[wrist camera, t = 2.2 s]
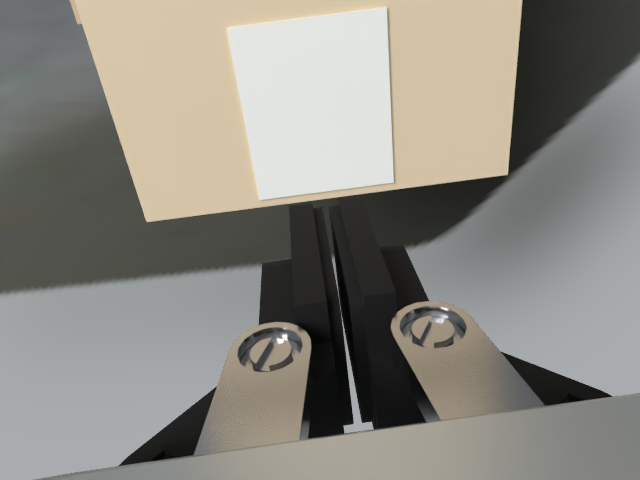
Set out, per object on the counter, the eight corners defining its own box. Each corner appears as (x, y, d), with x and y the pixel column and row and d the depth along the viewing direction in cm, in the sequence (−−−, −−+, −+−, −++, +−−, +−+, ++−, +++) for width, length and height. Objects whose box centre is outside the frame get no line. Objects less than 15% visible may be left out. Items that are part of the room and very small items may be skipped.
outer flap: (537, -316, 11) (552, -332, 10) (500, 168, 17) (508, 176, 16) (4, -247, 11) (-12, -260, 10) (150, 214, 17) (145, 223, 16)
